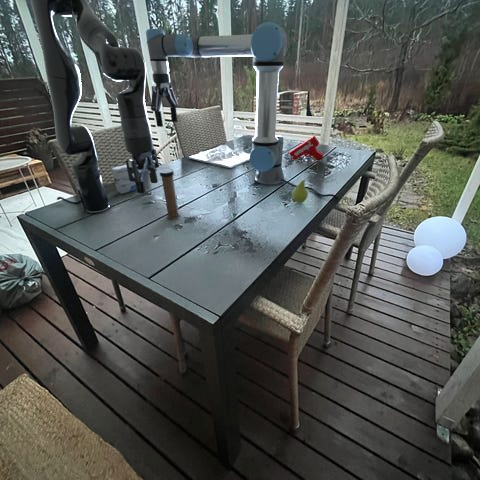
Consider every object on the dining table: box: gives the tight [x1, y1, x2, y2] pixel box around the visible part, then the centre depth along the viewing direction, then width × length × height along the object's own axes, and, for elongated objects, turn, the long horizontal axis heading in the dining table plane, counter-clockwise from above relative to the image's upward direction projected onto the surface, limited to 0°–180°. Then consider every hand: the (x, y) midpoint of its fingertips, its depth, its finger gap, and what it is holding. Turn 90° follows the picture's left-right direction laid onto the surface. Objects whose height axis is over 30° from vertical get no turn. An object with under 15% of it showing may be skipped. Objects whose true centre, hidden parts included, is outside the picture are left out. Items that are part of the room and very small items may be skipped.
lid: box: [159, 168, 175, 178], centre depth 101 cm, size 5×5×2 cm
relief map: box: [188, 143, 250, 169], centre depth 179 cm, size 27×35×5 cm
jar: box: [161, 175, 179, 219], centre depth 106 cm, size 4×4×18 cm
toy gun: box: [288, 135, 324, 163], centre depth 172 cm, size 18×4×15 cm
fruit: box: [291, 174, 311, 204], centre depth 118 cm, size 7×8×12 cm
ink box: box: [110, 164, 137, 195], centre depth 131 cm, size 8×5×12 cm, turn 135°
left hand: (148, 187), depth 85 cm, fingers open, 8 cm apart
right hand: (167, 124), depth 132 cm, fingers open, 13 cm apart
